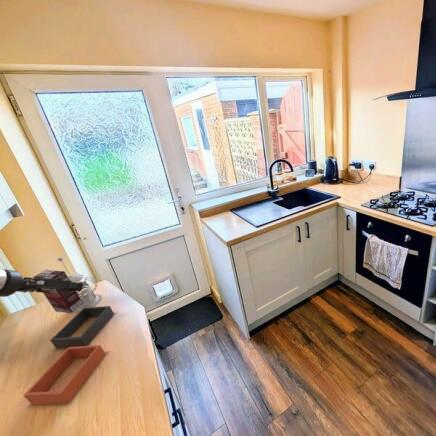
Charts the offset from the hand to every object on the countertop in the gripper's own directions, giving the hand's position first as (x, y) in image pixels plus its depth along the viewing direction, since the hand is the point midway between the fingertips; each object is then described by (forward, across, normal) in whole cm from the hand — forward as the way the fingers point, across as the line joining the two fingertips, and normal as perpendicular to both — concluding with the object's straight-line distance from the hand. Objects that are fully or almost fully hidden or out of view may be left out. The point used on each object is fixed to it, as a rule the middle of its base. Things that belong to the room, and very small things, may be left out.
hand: (68, 288), depth 90 cm
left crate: (-1, +9, -28) cm, 30 cm away
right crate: (+13, -1, -15) cm, 20 cm away
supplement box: (+3, 0, -7) cm, 8 cm away
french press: (+24, -12, -4) cm, 27 cm away
